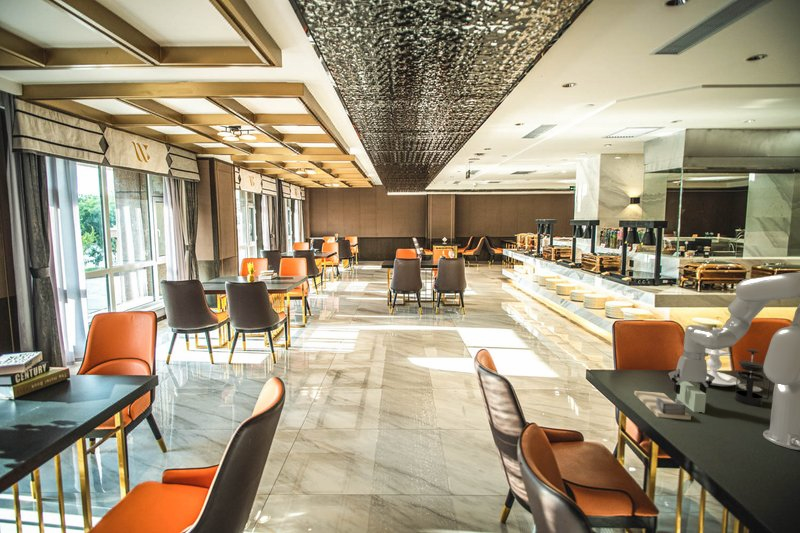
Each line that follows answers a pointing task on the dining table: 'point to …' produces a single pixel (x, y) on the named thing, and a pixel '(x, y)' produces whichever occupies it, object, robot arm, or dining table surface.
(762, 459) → the dining table surface
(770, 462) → the dining table surface
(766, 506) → the dining table surface
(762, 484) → the dining table surface
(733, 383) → the candlestick
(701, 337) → the robot arm
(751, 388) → the french press
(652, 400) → the board
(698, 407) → the pale green block
